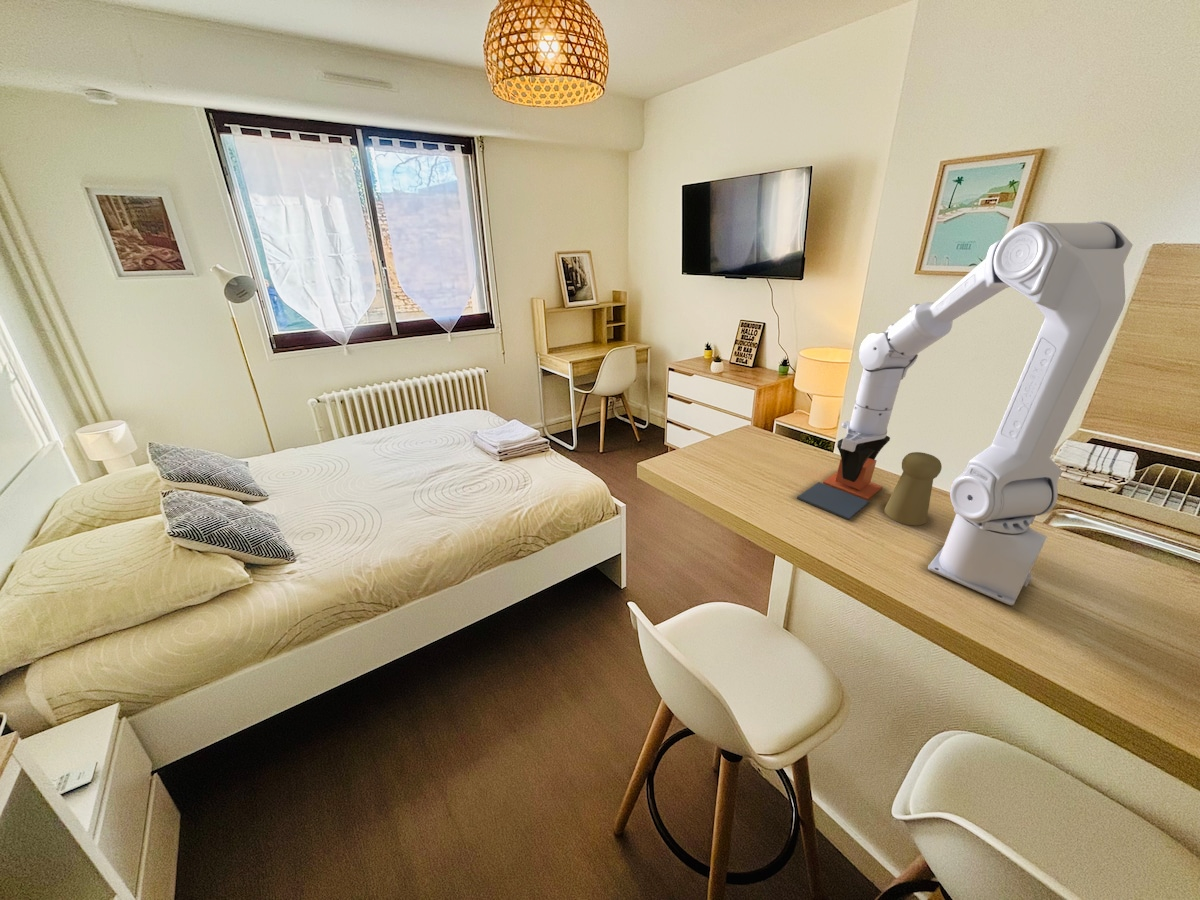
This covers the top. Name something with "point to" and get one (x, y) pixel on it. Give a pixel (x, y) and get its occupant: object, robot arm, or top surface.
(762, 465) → the top surface
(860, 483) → the terracotta block
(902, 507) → the cork
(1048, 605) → the top surface
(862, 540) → the top surface
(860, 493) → the terracotta mat
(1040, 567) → the top surface
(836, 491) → the slate mat
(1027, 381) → the robot arm
